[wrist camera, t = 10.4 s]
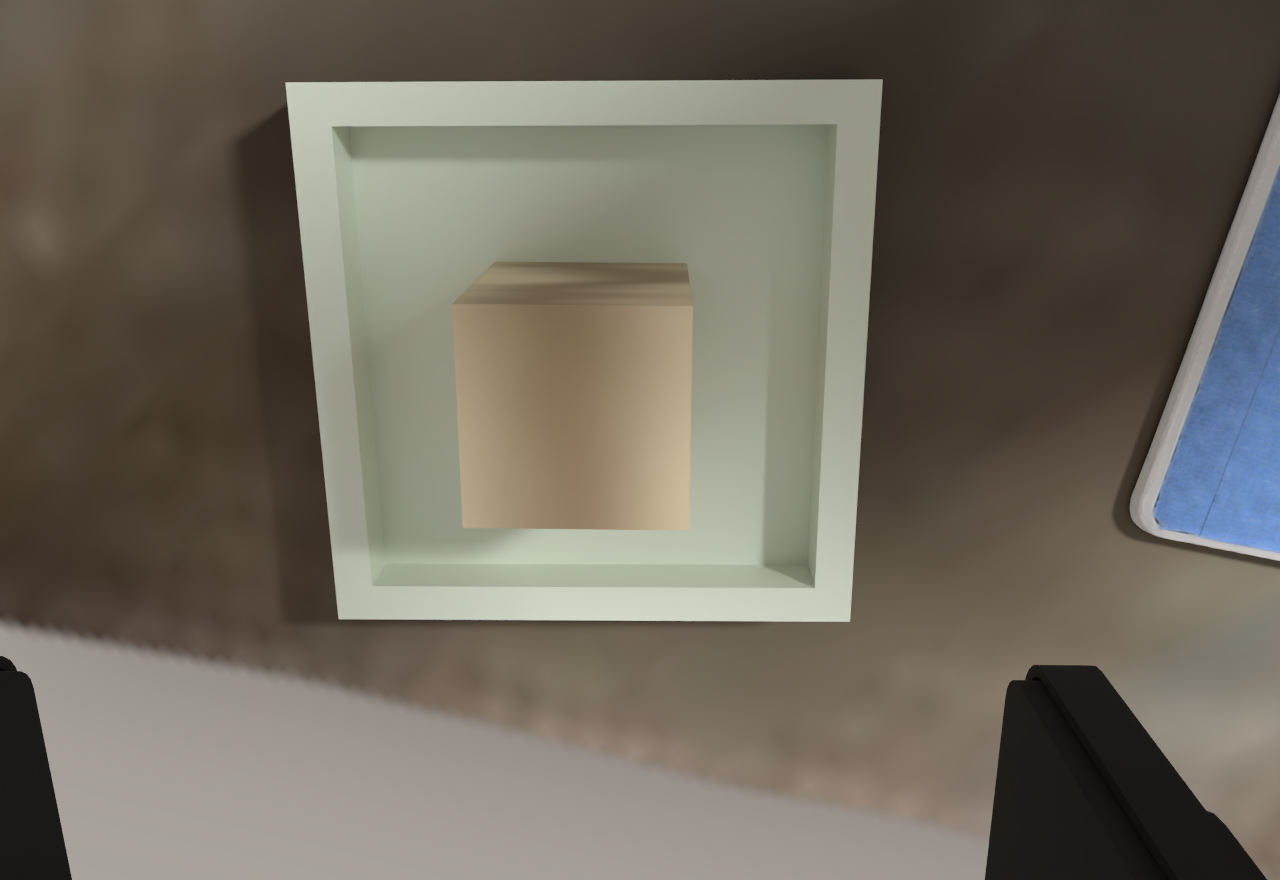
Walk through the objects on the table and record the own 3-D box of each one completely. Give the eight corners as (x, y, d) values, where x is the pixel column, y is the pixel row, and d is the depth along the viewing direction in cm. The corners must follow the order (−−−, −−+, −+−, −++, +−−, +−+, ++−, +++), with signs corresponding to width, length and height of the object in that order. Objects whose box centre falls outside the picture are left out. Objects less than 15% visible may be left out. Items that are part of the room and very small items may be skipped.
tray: (863, 80, 28) (882, 79, 25) (835, 582, 32) (850, 621, 29) (317, 83, 28) (285, 82, 25) (362, 580, 32) (338, 619, 30)
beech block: (686, 263, 28) (693, 305, 22) (683, 446, 30) (688, 530, 24) (494, 261, 28) (451, 303, 22) (501, 444, 30) (462, 528, 24)
